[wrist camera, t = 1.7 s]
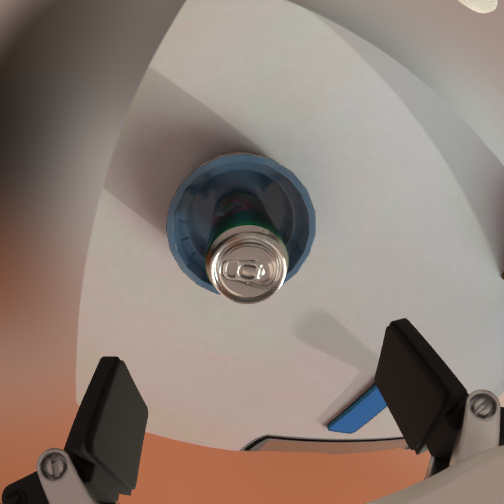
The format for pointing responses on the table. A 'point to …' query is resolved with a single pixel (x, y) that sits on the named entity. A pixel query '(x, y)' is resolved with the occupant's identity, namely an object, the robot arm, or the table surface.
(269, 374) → the table surface
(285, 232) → the bowl
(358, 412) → the smartphone
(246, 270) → the soda can
